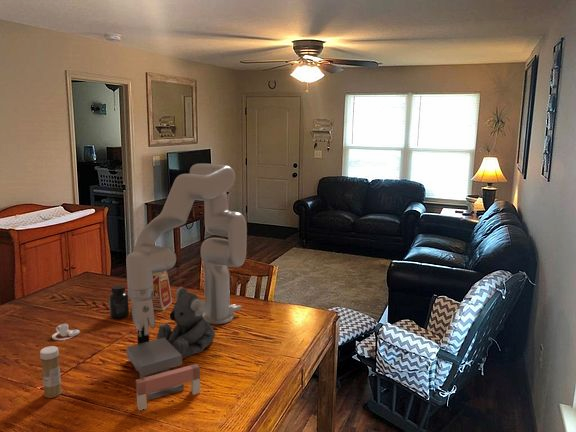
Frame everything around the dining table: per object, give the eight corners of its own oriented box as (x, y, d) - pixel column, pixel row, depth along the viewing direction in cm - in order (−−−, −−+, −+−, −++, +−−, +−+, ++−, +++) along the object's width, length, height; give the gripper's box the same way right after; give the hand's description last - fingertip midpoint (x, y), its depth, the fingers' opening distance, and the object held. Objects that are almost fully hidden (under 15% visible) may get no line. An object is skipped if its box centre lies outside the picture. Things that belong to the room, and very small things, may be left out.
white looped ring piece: (83, 334, 172) (82, 323, 171) (65, 343, 165) (64, 332, 164) (65, 329, 176) (64, 319, 175) (46, 338, 169) (45, 327, 168)
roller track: (157, 352, 159) (156, 340, 158) (183, 389, 138) (183, 376, 137) (126, 360, 154) (125, 348, 153) (148, 400, 132) (147, 386, 132)
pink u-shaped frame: (197, 389, 138) (196, 363, 136) (200, 392, 136) (199, 366, 135) (137, 407, 129) (135, 379, 128) (139, 411, 128) (137, 383, 126)
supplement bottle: (110, 314, 189) (108, 284, 186) (129, 312, 191) (127, 283, 188) (110, 321, 182) (108, 290, 180) (129, 318, 185) (127, 289, 182)
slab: (164, 346, 154) (164, 337, 154) (182, 364, 143) (181, 355, 142) (126, 356, 148) (126, 347, 147) (142, 376, 136) (141, 366, 136)
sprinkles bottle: (41, 394, 135) (36, 349, 132) (57, 387, 138) (53, 343, 135) (48, 400, 132) (44, 355, 129) (65, 393, 135) (61, 349, 132)
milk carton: (163, 310, 193) (161, 262, 189) (142, 308, 195) (139, 260, 191) (173, 302, 202) (171, 255, 198) (152, 300, 203) (150, 254, 199)
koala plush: (154, 342, 166) (152, 288, 162) (202, 329, 176) (201, 278, 172) (175, 363, 152) (173, 305, 148) (225, 348, 163) (224, 293, 159)
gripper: (159, 297, 144) (162, 354, 148) (146, 282, 157) (149, 335, 161) (134, 302, 141) (137, 360, 144) (122, 286, 153) (126, 340, 157)
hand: (143, 346), depth 152 cm, fingers closed
